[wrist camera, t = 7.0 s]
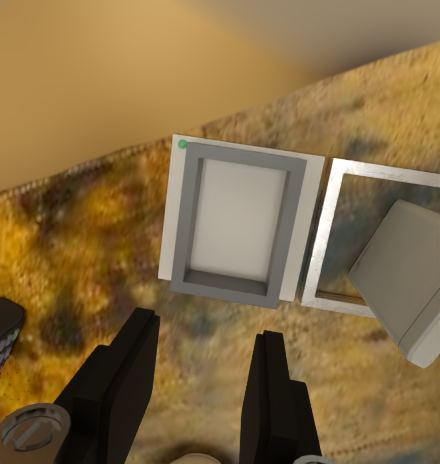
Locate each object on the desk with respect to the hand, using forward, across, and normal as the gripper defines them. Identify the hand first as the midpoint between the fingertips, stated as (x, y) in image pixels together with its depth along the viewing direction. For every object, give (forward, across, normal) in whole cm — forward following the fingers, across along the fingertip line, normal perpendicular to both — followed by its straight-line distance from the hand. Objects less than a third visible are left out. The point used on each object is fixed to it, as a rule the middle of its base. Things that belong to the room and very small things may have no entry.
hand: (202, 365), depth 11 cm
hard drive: (+21, -13, 0) cm, 25 cm away
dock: (+21, 0, 0) cm, 21 cm away
